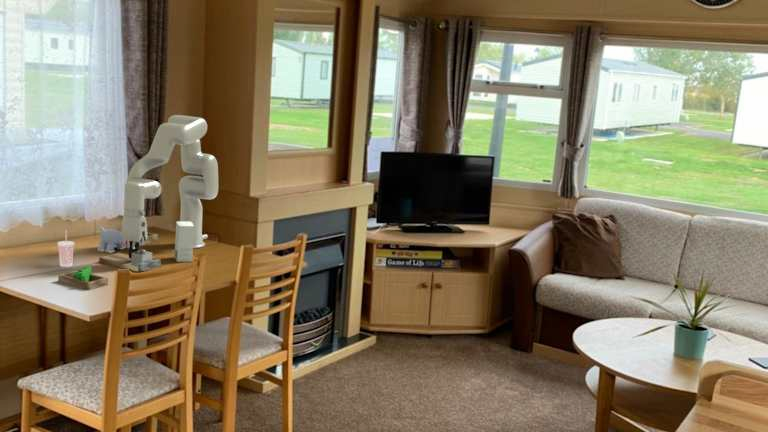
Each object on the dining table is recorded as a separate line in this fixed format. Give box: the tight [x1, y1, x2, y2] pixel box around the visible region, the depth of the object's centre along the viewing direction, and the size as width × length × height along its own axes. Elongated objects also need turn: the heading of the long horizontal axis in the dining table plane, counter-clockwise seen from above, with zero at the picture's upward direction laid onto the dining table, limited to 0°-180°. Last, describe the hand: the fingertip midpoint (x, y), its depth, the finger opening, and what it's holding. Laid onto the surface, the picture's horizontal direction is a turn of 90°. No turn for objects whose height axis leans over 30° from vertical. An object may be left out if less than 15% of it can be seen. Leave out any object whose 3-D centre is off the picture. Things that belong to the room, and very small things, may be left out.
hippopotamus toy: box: [97, 226, 128, 254], centre depth 325 cm, size 11×15×10 cm
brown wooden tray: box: [57, 269, 109, 291], centre depth 276 cm, size 8×16×2 cm, turn 64°
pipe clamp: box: [75, 266, 92, 285], centre depth 275 cm, size 11×4×5 cm, turn 10°
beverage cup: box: [57, 229, 76, 268], centre depth 296 cm, size 6×6×14 cm
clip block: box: [131, 248, 153, 266], centre depth 300 cm, size 6×6×6 cm
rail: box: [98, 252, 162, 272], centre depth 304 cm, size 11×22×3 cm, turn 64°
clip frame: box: [119, 230, 159, 245], centre depth 346 cm, size 8×16×3 cm, turn 64°
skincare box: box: [173, 220, 194, 263], centre depth 317 cm, size 8×7×16 cm
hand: (133, 257), depth 303 cm, fingers closed
